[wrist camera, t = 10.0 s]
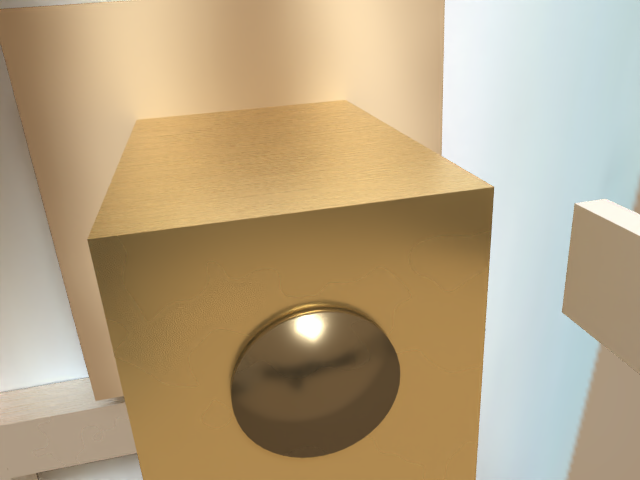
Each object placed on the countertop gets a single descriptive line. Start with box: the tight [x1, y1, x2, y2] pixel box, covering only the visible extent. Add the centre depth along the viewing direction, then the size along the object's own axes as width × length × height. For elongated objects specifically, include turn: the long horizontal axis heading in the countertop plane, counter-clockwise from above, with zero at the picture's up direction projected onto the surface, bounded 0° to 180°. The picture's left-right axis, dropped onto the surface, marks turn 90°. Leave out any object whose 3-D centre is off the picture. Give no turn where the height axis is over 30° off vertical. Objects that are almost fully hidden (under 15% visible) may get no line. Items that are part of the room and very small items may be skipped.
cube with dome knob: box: [87, 100, 494, 480], centre depth 13 cm, size 6×6×9 cm
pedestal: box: [0, 0, 445, 401], centre depth 19 cm, size 12×12×3 cm
